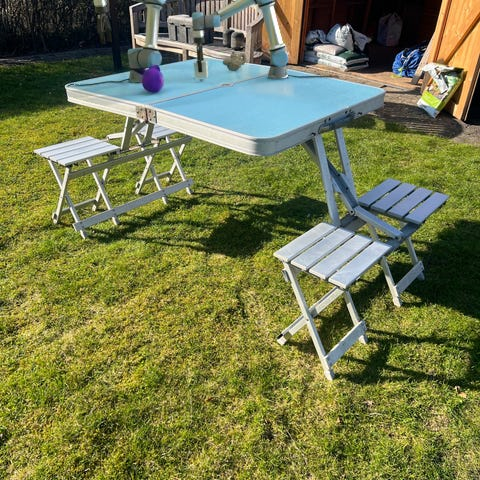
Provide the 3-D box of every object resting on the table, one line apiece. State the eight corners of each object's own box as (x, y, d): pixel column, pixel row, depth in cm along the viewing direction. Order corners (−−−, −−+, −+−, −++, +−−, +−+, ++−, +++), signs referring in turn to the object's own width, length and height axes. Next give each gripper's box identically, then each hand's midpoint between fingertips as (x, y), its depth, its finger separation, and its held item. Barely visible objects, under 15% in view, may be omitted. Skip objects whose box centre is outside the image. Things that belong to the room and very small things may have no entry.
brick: (206, 78, 324) (205, 62, 319) (194, 78, 325) (193, 62, 319) (208, 75, 332) (207, 60, 326) (196, 76, 332) (195, 60, 327)
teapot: (226, 73, 360) (225, 53, 353) (219, 71, 369) (219, 51, 361) (249, 70, 370) (249, 50, 362) (242, 68, 378) (241, 49, 371)
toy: (156, 85, 322) (164, 98, 301) (131, 81, 314) (137, 93, 294) (160, 63, 314) (168, 74, 293) (135, 58, 306) (141, 69, 286)
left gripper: (100, 7, 269) (106, 45, 280) (112, 4, 291) (117, 40, 302) (88, 7, 270) (94, 45, 281) (101, 5, 291) (106, 40, 302)
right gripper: (202, 38, 305) (204, 73, 317) (205, 35, 323) (207, 68, 335) (191, 39, 306) (194, 73, 317) (195, 35, 324) (198, 68, 335)
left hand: (106, 42), depth 291 cm, fingers open, 13 cm apart
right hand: (201, 70), depth 326 cm, fingers closed on brick, 8 cm apart
